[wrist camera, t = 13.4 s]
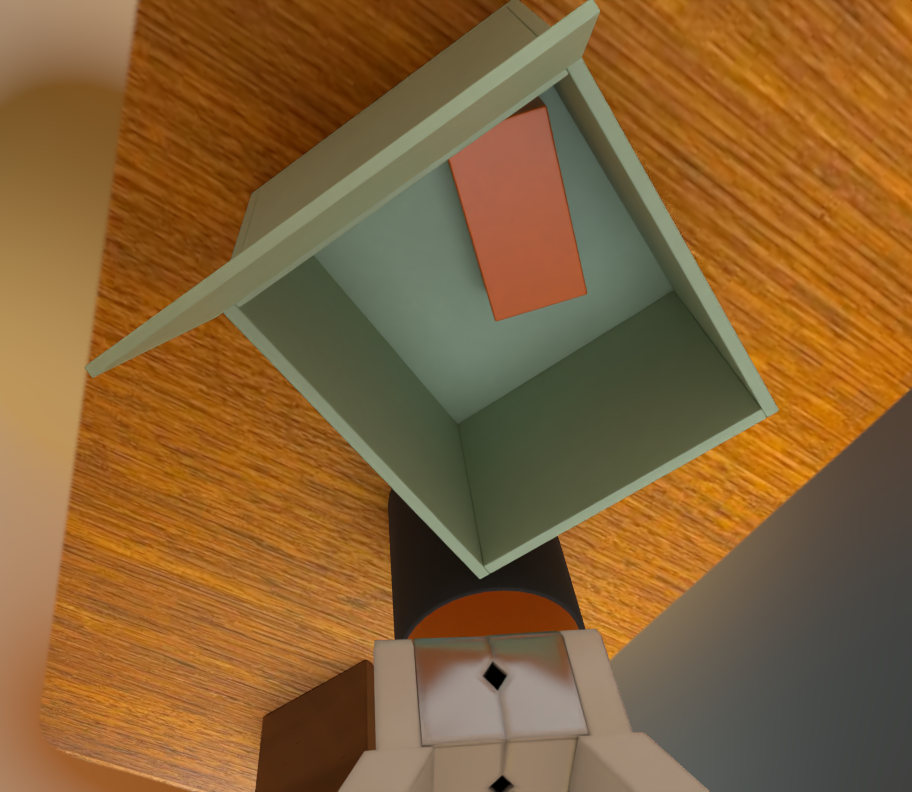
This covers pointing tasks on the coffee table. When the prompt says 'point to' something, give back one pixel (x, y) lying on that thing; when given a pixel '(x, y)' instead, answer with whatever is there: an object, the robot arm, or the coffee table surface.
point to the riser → (319, 735)
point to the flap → (365, 185)
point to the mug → (473, 587)
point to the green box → (499, 324)
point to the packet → (519, 214)
